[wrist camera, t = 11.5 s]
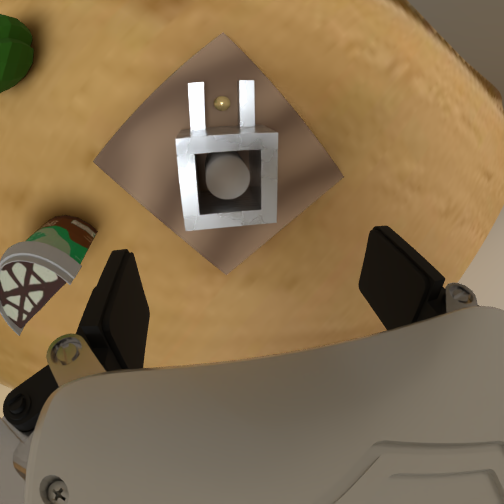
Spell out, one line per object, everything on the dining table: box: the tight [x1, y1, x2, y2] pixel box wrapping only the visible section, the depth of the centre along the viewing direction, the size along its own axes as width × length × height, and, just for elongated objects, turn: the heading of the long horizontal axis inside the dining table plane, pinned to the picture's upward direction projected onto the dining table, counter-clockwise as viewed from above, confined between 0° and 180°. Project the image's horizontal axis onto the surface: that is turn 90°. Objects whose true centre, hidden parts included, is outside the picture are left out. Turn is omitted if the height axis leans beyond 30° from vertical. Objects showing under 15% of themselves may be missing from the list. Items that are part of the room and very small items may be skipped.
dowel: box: [213, 96, 230, 111], centre depth 20 cm, size 1×1×2 cm
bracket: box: [175, 80, 278, 231], centre depth 21 cm, size 11×7×6 cm, turn 1°
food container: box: [0, 215, 98, 336], centre depth 22 cm, size 12×6×10 cm, turn 122°
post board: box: [93, 33, 344, 275], centre depth 23 cm, size 18×16×6 cm
